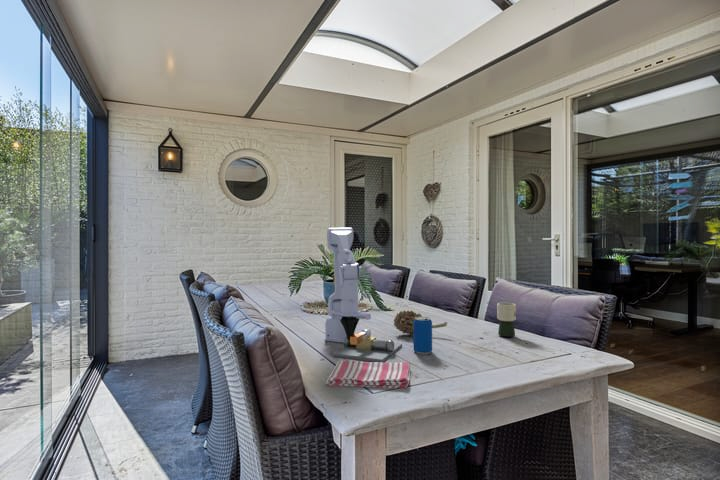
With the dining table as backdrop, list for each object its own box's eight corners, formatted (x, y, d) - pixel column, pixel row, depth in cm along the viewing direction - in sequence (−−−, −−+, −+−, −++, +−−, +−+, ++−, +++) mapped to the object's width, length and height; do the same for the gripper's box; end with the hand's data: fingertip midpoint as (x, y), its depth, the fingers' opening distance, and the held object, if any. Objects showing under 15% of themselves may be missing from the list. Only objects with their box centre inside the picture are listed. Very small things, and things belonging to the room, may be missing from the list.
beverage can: (432, 355, 141) (431, 320, 141) (412, 354, 143) (412, 319, 142) (432, 350, 148) (432, 316, 147) (414, 349, 149) (414, 316, 149)
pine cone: (392, 337, 165) (392, 312, 165) (394, 331, 175) (394, 308, 174) (449, 339, 162) (449, 313, 161) (447, 333, 171) (447, 309, 171)
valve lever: (363, 335, 150) (363, 328, 149) (372, 336, 148) (372, 329, 148) (349, 344, 138) (349, 336, 138) (358, 345, 137) (357, 337, 137)
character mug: (520, 340, 159) (520, 306, 159) (501, 339, 160) (501, 306, 159) (511, 332, 170) (511, 301, 170) (493, 332, 171) (493, 301, 170)
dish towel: (409, 391, 112) (409, 378, 112) (324, 387, 115) (324, 375, 115) (410, 369, 129) (410, 358, 129) (336, 367, 132) (336, 356, 132)
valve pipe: (343, 348, 149) (343, 337, 148) (349, 345, 153) (348, 334, 153) (390, 354, 141) (390, 342, 141) (395, 350, 146) (395, 338, 145)
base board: (333, 356, 142) (333, 353, 142) (357, 341, 160) (357, 338, 160) (382, 362, 134) (382, 359, 134) (402, 346, 153) (402, 343, 152)
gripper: (325, 299, 140) (325, 339, 140) (364, 302, 134) (365, 344, 134) (334, 296, 146) (335, 334, 147) (372, 299, 141) (373, 338, 141)
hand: (350, 338), depth 141 cm, fingers closed
